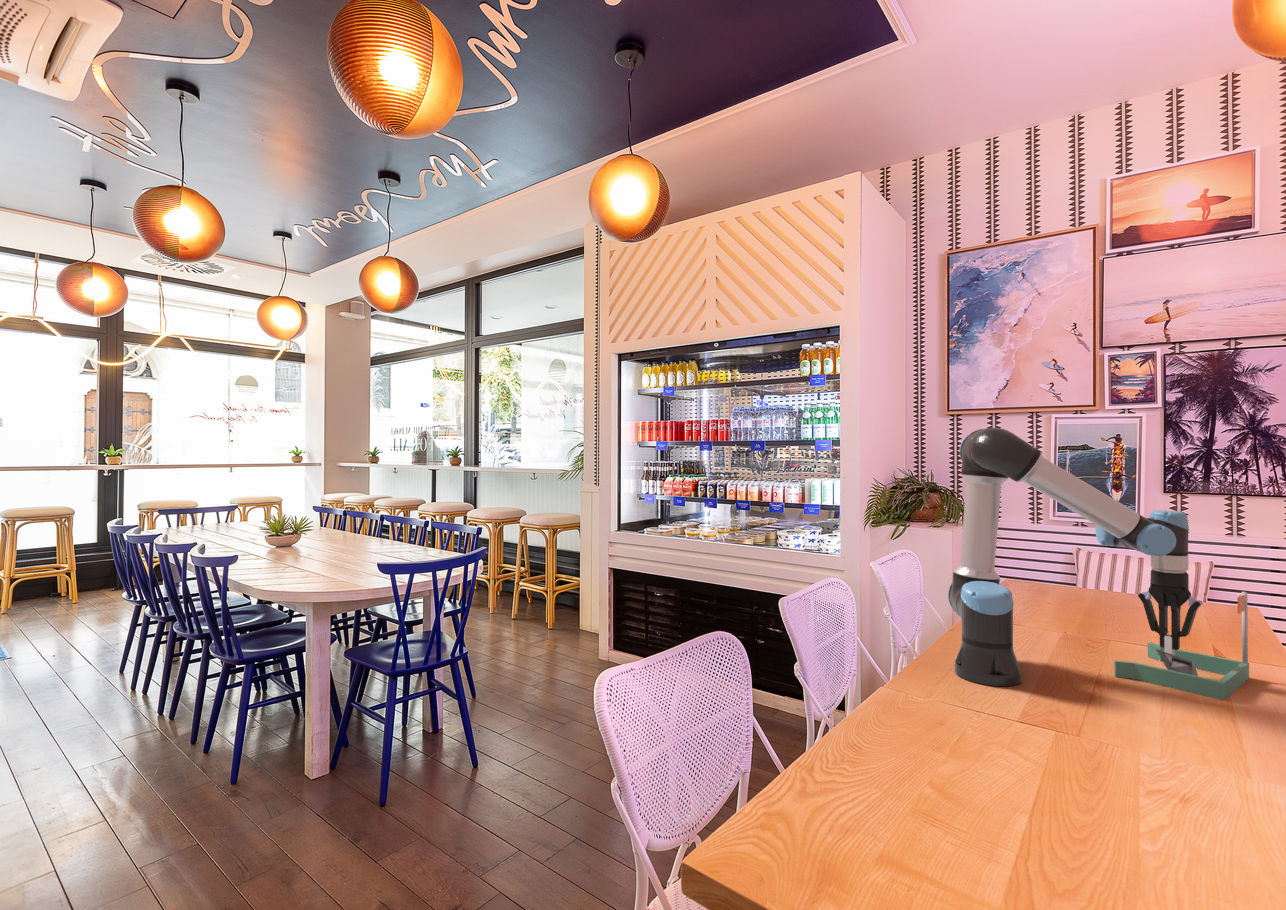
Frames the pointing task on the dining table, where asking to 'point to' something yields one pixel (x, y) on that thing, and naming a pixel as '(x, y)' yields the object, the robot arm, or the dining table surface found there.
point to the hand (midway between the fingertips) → (1169, 660)
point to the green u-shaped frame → (1203, 686)
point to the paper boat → (1178, 664)
